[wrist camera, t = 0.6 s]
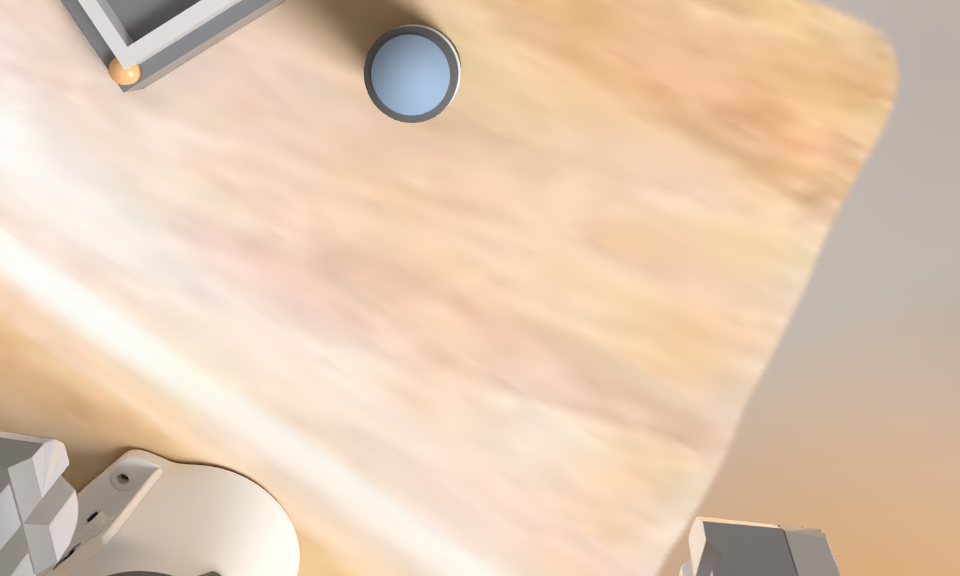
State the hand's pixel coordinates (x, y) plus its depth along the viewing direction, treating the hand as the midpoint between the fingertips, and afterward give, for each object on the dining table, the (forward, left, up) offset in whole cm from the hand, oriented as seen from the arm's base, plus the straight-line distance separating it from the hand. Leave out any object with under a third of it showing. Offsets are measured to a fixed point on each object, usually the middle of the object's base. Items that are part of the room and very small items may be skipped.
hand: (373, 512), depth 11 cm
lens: (0, +4, -45) cm, 45 cm away
